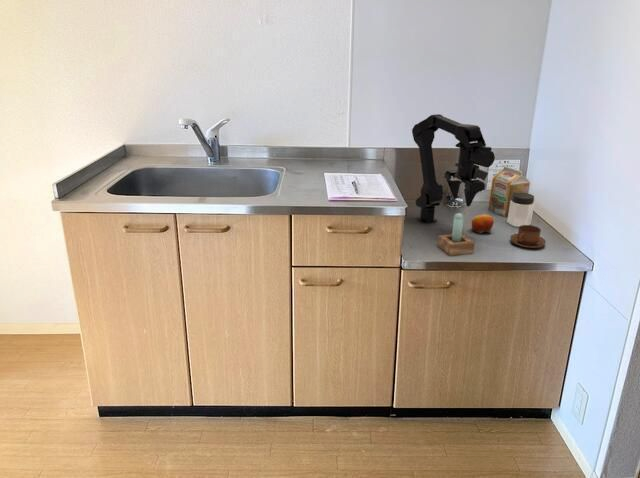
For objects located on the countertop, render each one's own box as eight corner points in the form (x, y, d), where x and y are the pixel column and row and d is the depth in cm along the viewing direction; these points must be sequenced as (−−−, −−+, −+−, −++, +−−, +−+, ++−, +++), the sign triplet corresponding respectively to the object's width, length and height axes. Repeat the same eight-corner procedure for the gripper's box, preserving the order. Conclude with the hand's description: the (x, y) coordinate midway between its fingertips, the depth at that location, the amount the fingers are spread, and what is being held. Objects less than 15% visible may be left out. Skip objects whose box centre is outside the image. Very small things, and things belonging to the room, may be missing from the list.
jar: (523, 229, 194) (528, 200, 190) (503, 223, 200) (508, 195, 195) (533, 223, 200) (538, 195, 195) (514, 218, 206) (518, 190, 201)
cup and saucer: (541, 253, 173) (544, 237, 171) (506, 246, 179) (508, 230, 177) (547, 242, 183) (550, 226, 180) (513, 235, 189) (516, 220, 186)
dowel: (449, 247, 178) (453, 211, 172) (458, 247, 178) (462, 211, 172) (451, 251, 175) (455, 214, 170) (460, 251, 175) (465, 215, 169)
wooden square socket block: (437, 245, 179) (438, 235, 178) (459, 243, 181) (461, 233, 180) (450, 255, 171) (451, 245, 170) (473, 252, 173) (474, 242, 172)
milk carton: (524, 214, 211) (532, 170, 203) (504, 217, 207) (511, 173, 200) (507, 206, 220) (514, 164, 212) (488, 209, 216) (494, 167, 209)
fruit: (481, 234, 186) (477, 213, 187) (470, 237, 193) (466, 217, 194) (500, 232, 188) (496, 211, 189) (488, 235, 195) (484, 215, 196)
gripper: (501, 166, 172) (495, 208, 178) (472, 154, 188) (467, 193, 194) (472, 168, 169) (467, 211, 175) (445, 156, 185) (441, 195, 191)
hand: (461, 202), depth 184 cm, fingers open, 9 cm apart
